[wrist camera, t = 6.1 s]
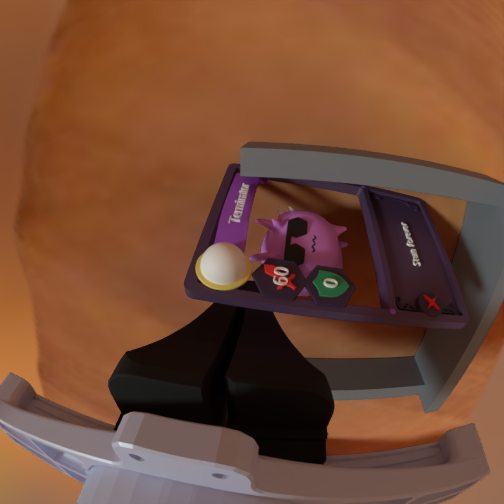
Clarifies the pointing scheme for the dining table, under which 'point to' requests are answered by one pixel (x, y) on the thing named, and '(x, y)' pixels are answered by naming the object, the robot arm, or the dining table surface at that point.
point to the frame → (464, 264)
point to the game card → (327, 259)
